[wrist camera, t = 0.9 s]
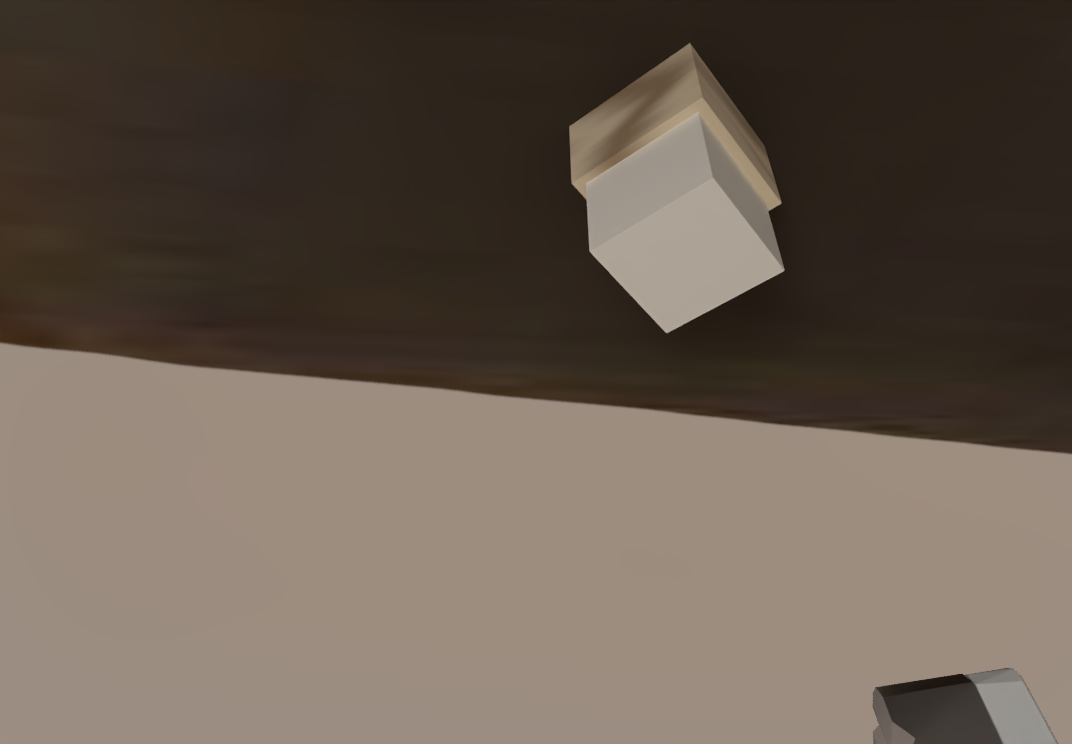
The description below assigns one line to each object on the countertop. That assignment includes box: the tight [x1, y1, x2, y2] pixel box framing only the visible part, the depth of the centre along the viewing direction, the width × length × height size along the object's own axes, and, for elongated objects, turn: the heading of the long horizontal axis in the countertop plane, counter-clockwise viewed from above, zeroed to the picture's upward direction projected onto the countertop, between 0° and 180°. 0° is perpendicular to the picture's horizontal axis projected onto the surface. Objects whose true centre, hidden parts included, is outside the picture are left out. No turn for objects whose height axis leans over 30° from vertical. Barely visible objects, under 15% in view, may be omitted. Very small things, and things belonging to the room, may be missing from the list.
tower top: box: [586, 112, 785, 333], centre depth 43 cm, size 6×6×5 cm
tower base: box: [569, 43, 781, 211], centre depth 46 cm, size 7×7×5 cm
